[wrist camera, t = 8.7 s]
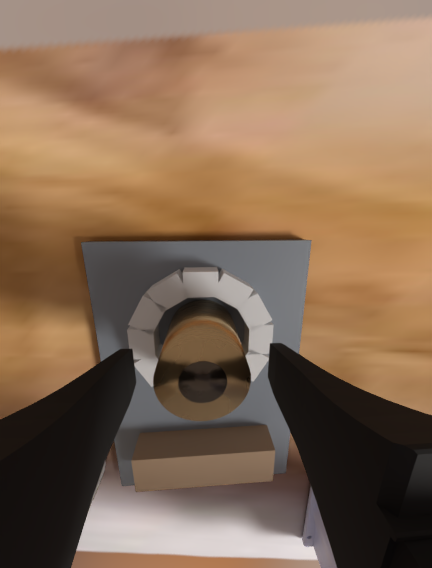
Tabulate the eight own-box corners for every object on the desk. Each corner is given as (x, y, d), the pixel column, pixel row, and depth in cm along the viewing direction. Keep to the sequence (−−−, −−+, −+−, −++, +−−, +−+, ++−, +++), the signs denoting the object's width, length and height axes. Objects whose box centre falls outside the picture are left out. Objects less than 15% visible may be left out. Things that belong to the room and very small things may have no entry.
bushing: (233, 356, 15) (249, 419, 10) (171, 359, 15) (156, 425, 10) (234, 298, 14) (253, 336, 9) (167, 300, 13) (148, 341, 9)
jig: (281, 460, 19) (295, 501, 16) (126, 472, 18) (111, 518, 15) (303, 239, 14) (330, 242, 11) (89, 241, 13) (58, 244, 10)
